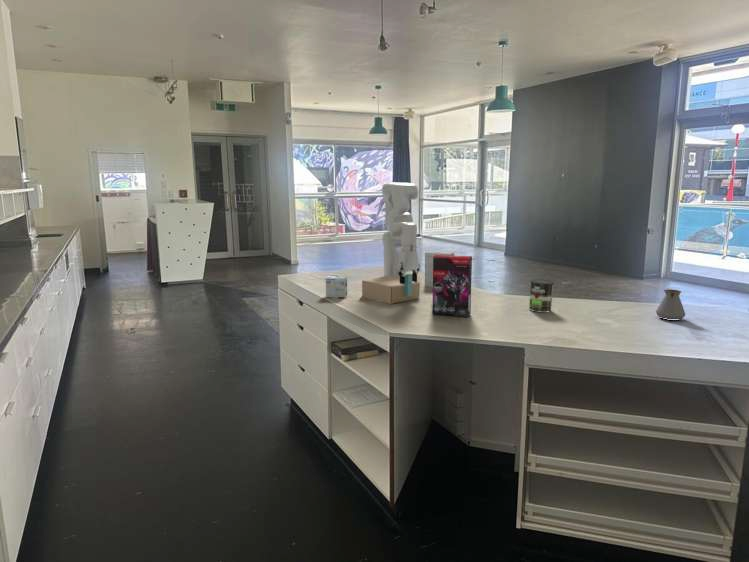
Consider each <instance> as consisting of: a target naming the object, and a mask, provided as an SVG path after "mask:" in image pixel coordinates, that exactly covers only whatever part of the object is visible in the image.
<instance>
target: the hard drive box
mask: <svg viewBox="0 0 749 562" xmlns="http://www.w3.org/2000/svg"><path fill="white" fill-rule="evenodd" d="M435 255H454V256H455V252H445V251H443V252H441V251H428V252H425V253H424V287H427V286H428V287H429V288H433V257H434V256H435ZM428 287H427V288H428Z"/></svg>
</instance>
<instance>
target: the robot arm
mask: <svg viewBox="0 0 749 562" xmlns="http://www.w3.org/2000/svg"><path fill="white" fill-rule="evenodd" d="M381 191H382V192H381V193H382V197H383V201H384V205H385V208H384V209H385V210H384V211H385V215H384V217H385V219H384V220H385V221H384V223H385V227H386V228H387V229H388V231H386V232H384V233H383V234H382V236H381V237H382V246H383V277H384V276H394V277H399V278H400V284H405V275H406V272H411V271H412V273H411V275H412V281H413V282H417V281H418V274H419V271H420V269H421V267H422V265H421V264H420V263H419V257H418V251H417V248H418V244H417V241H418V240H417V237H418V234H417V233H418V226H417V224H416V223H415V222H414V218H413V215H412V214H411V212H408V211H410V208H411V206H410V205H411V204H410V200H411V201H413V200H417V198H418V197H419V188H418V186H417V185H416V184H415V183H412V182H388V183H387V182H386V183H384V184H383V185H382V188H381ZM397 248H400V249H401V251H398V249H397Z"/></svg>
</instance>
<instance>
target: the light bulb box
mask: <svg viewBox="0 0 749 562" xmlns="http://www.w3.org/2000/svg"><path fill="white" fill-rule="evenodd" d="M346 296H348V276H346V275H345V276H343V275H340V276H339V275H327V276H326V277H325V298H326V297H346ZM346 298H347V297H346Z"/></svg>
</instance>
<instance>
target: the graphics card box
mask: <svg viewBox="0 0 749 562" xmlns="http://www.w3.org/2000/svg"><path fill="white" fill-rule="evenodd" d="M472 265H473V256H472V255H455V254H454V255H435V256H434V257H433V287H432V306H431V307H432V308H431V309H432V310H431V312H432V315H437V314H438V316H440V315H441V316H451V317H452V316H453V317H463V318H468V317H469V316H470V315H471V308H472V270H473V269H472V268H473V267H472Z"/></svg>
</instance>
